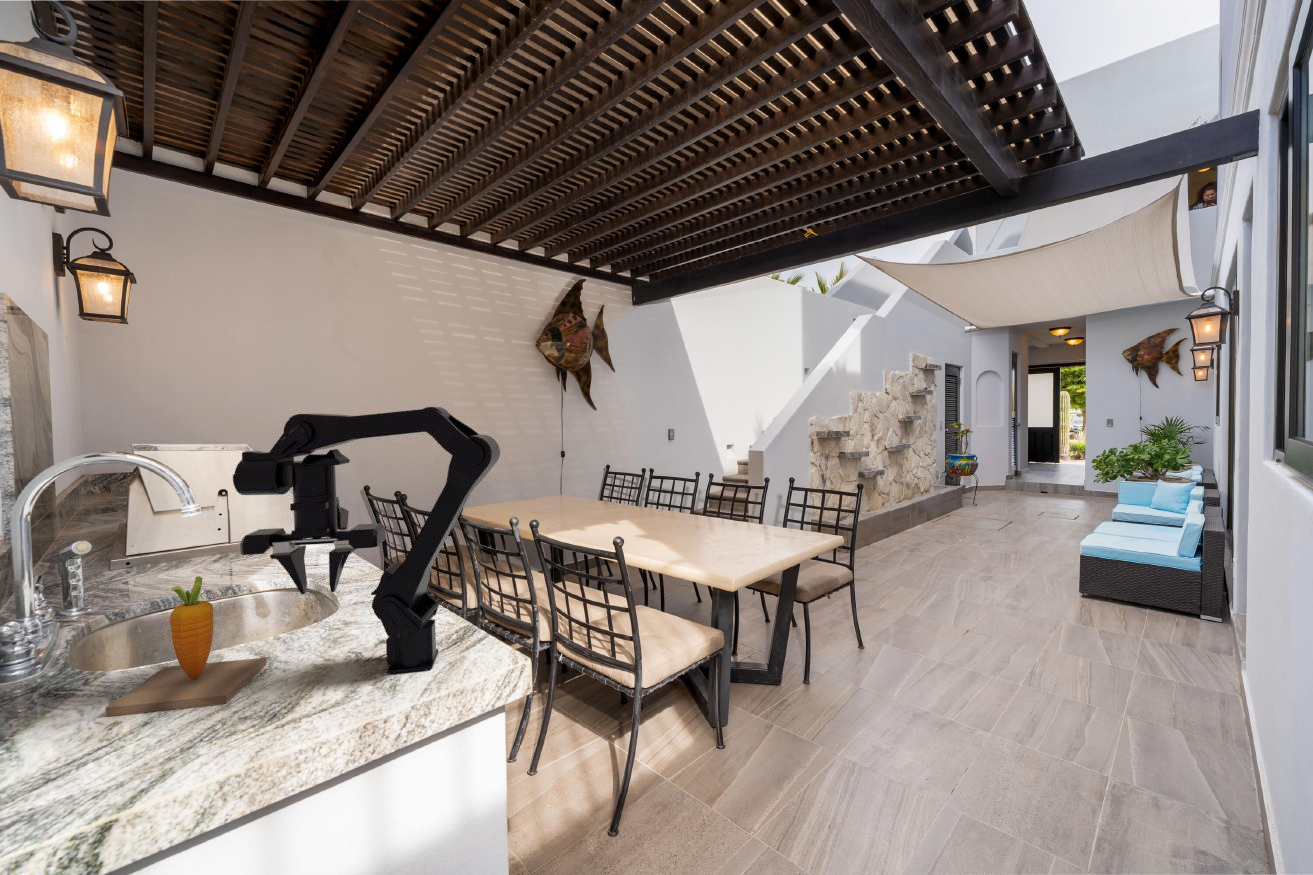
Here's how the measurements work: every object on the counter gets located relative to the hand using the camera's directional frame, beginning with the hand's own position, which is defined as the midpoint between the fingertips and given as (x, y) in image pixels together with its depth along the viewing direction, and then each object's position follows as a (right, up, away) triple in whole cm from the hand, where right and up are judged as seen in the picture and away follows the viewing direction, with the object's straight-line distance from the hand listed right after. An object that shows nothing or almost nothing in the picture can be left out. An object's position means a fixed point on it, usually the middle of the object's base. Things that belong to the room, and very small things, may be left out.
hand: (318, 592), depth 87 cm
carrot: (-15, -11, -6) cm, 19 cm away
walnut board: (-15, -12, -6) cm, 20 cm away
